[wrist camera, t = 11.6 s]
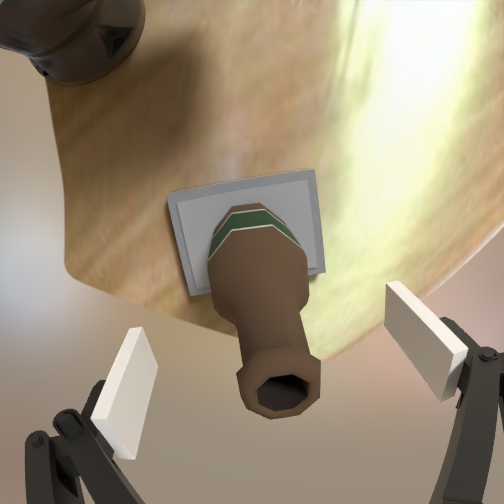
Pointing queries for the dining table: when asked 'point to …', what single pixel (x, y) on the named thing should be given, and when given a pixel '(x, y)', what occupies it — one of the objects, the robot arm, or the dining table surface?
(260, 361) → the beer bottle
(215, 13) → the dining table surface
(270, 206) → the slate stand
